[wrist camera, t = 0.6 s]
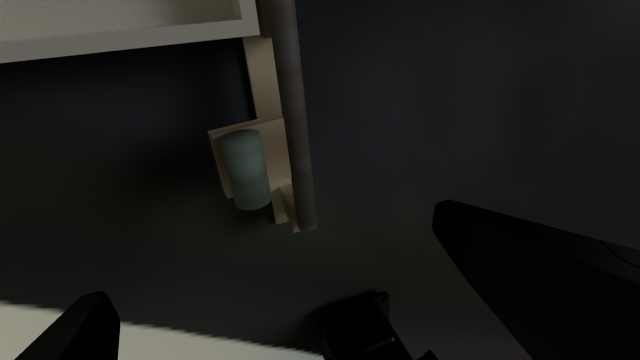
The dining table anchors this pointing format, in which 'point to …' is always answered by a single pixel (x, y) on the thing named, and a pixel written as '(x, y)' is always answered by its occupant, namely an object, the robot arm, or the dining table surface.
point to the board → (116, 25)
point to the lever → (272, 134)
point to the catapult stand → (268, 104)
